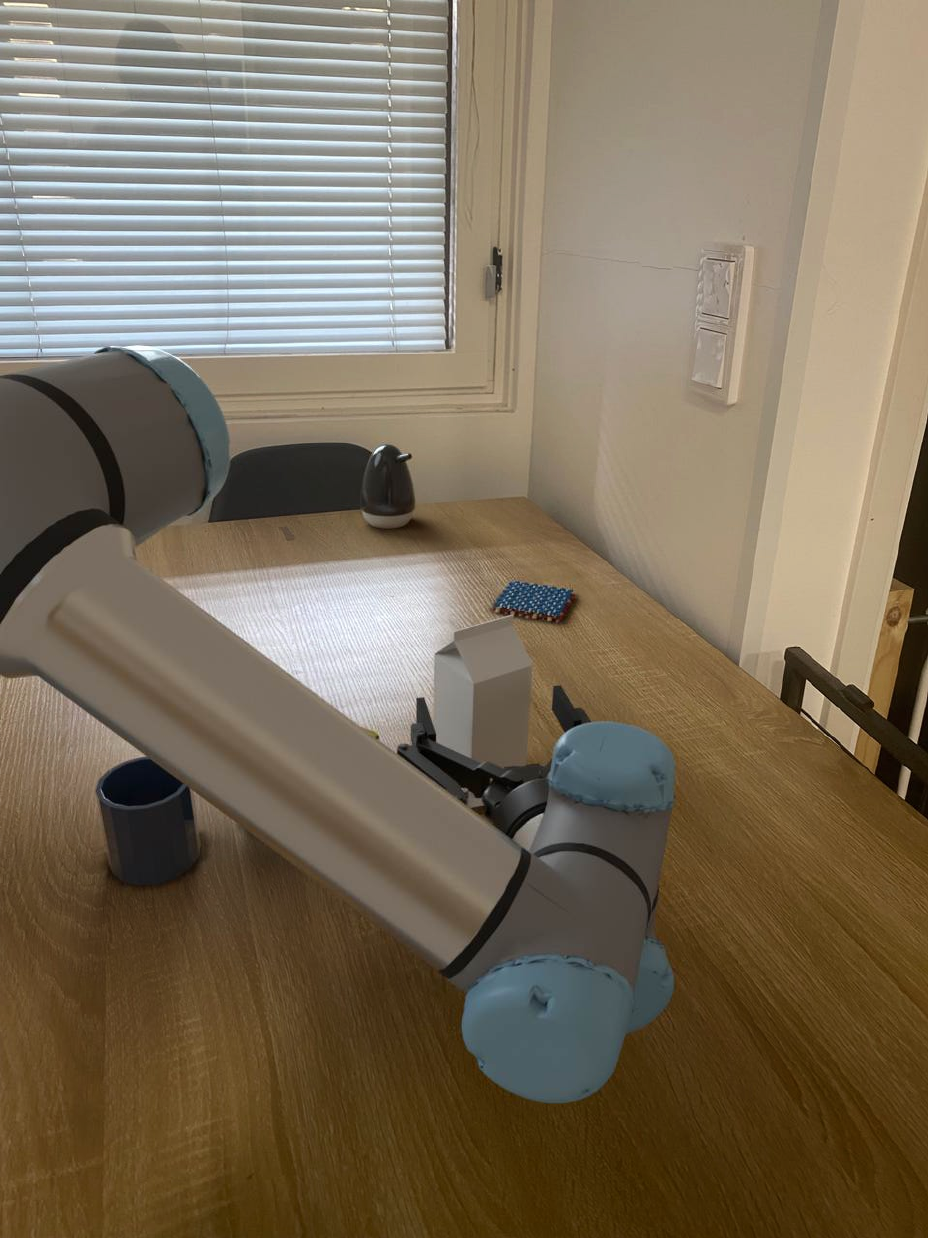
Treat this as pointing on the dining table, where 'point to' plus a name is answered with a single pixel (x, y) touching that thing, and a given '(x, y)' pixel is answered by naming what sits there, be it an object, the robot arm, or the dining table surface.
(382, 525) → the pump dispenser
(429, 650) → the dining table surface
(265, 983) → the dining table surface
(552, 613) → the woven mat
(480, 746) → the milk carton
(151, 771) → the blue cup
